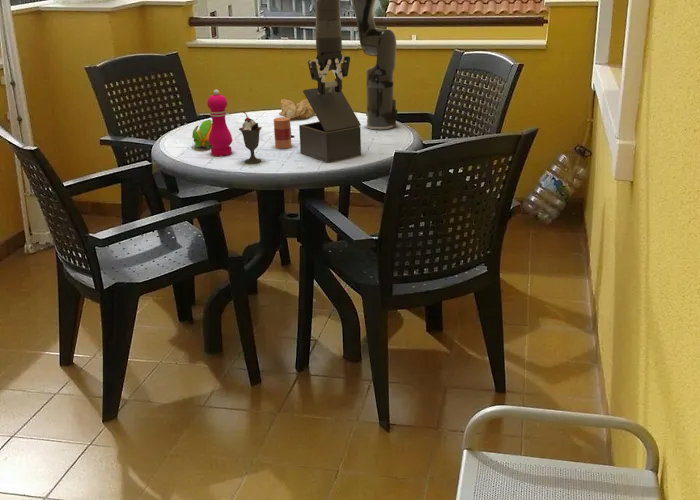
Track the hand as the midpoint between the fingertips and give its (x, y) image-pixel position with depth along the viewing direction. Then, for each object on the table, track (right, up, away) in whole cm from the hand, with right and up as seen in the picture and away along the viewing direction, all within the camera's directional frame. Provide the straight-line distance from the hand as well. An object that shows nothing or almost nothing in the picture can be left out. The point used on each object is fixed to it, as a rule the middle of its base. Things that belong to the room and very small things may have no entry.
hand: (330, 92), depth 242 cm
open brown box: (0, -17, +8) cm, 19 cm away
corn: (-41, -12, +24) cm, 49 cm away
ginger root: (-13, +2, +58) cm, 59 cm away
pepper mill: (-34, -17, +12) cm, 40 cm away
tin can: (-15, -14, +18) cm, 27 cm away
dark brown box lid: (0, -5, +1) cm, 5 cm away
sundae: (-23, -20, +2) cm, 31 cm away
